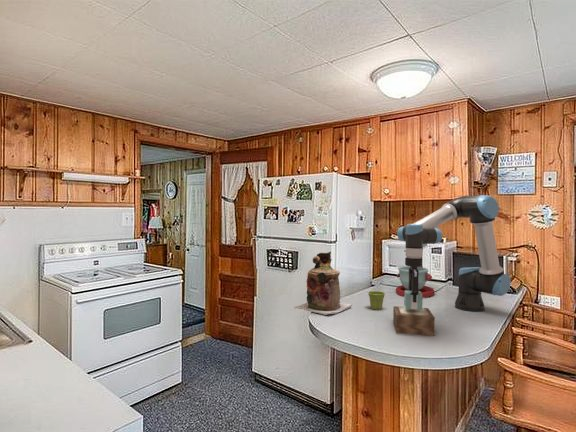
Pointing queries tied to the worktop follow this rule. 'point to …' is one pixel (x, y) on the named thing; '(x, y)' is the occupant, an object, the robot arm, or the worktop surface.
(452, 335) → the worktop surface
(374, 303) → the plant pot
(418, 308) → the teal cube
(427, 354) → the worktop surface
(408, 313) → the walnut block
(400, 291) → the stand mixer
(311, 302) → the cookie jar
